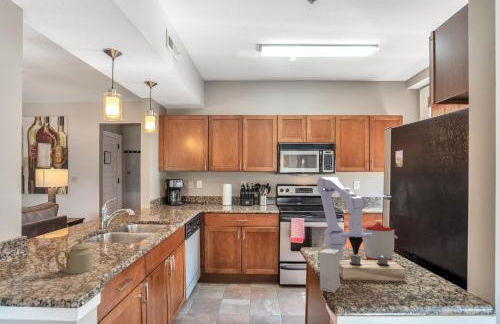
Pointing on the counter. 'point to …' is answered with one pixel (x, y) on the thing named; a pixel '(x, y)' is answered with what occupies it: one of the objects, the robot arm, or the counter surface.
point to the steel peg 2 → (382, 260)
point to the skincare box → (329, 270)
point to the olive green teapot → (77, 258)
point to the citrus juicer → (379, 241)
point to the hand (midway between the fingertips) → (355, 254)
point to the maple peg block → (371, 271)
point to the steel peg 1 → (355, 260)
